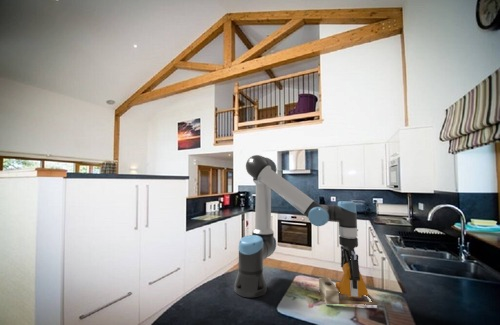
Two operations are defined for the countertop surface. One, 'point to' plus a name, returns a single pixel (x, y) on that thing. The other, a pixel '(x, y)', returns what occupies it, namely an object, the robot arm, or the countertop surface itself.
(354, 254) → the robot arm
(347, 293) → the bracket
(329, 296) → the seat holder
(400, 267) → the countertop surface
